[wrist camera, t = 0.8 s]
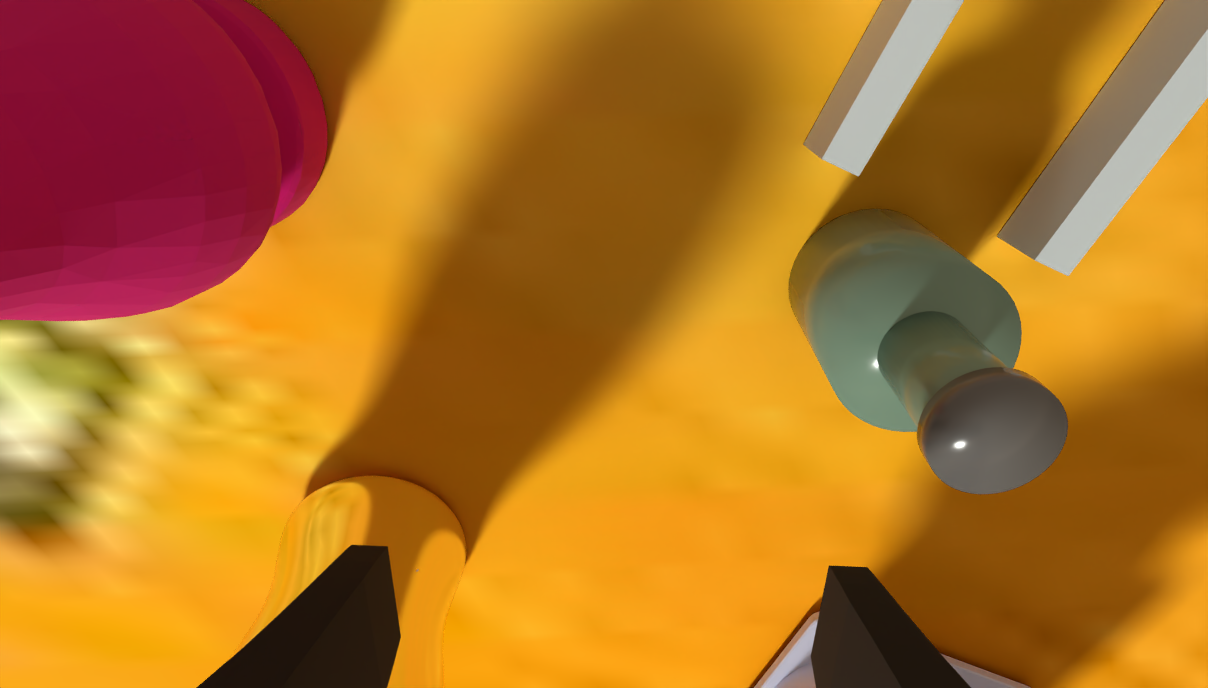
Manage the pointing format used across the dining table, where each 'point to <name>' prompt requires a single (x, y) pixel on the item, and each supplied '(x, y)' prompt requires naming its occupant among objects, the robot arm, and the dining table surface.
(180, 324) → the dining table surface
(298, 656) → the robot arm
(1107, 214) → the rest
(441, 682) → the pale grey carved column
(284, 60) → the pepper mill
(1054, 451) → the bottle
